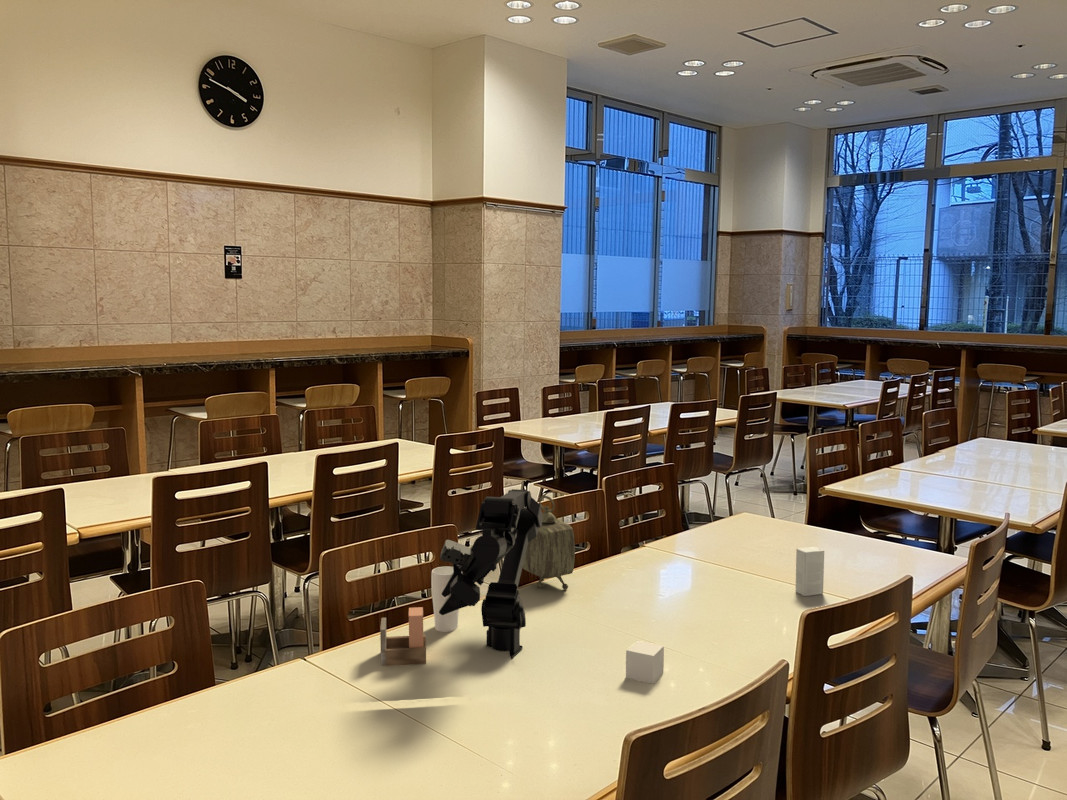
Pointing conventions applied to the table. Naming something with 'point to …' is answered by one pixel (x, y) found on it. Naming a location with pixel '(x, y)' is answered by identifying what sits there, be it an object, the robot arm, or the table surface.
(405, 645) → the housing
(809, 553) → the skincare box
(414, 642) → the salmon pink block
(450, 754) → the table surface
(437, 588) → the drinking glass
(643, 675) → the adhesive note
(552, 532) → the tabletop clock
